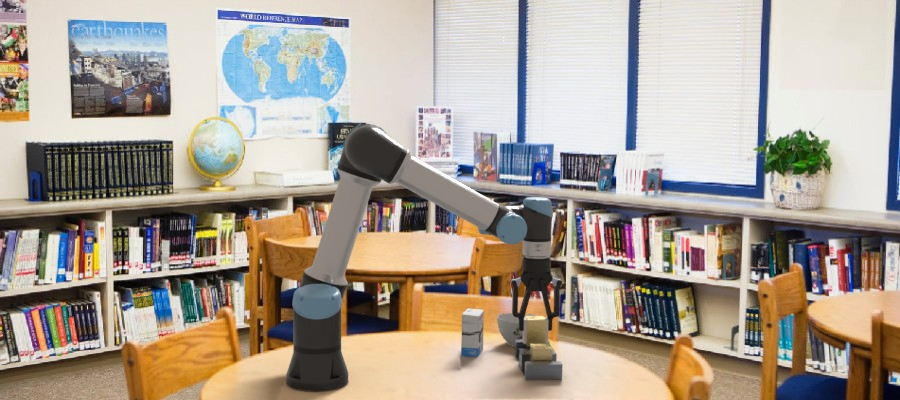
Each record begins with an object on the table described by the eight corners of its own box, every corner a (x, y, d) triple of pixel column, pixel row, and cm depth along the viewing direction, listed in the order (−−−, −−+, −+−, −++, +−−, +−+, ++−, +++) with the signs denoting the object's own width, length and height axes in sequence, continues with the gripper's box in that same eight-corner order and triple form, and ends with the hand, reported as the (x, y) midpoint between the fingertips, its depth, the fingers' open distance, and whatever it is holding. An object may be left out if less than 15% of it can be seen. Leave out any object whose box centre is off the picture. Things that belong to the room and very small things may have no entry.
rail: (526, 382, 246) (526, 364, 245) (514, 355, 270) (515, 339, 269) (561, 382, 246) (562, 364, 246) (547, 355, 270) (548, 339, 270)
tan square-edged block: (524, 341, 266) (525, 315, 265) (543, 341, 266) (543, 315, 265) (527, 346, 261) (527, 320, 260) (545, 346, 261) (546, 320, 260)
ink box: (478, 358, 267) (479, 315, 265) (460, 357, 268) (461, 314, 266) (483, 350, 275) (484, 308, 273) (466, 349, 276) (466, 307, 274)
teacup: (542, 350, 275) (543, 322, 274) (497, 350, 275) (498, 322, 274) (537, 336, 290) (538, 310, 289) (495, 336, 290) (495, 309, 289)
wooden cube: (532, 376, 250) (532, 348, 249) (529, 370, 254) (530, 343, 254) (551, 376, 250) (552, 348, 249) (548, 370, 255) (549, 343, 254)
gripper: (504, 258, 257) (502, 346, 259) (573, 258, 257) (571, 346, 260) (501, 253, 264) (499, 339, 267) (568, 253, 265) (566, 338, 268)
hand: (535, 342), depth 263 cm, fingers closed on tan square-edged block, 5 cm apart
